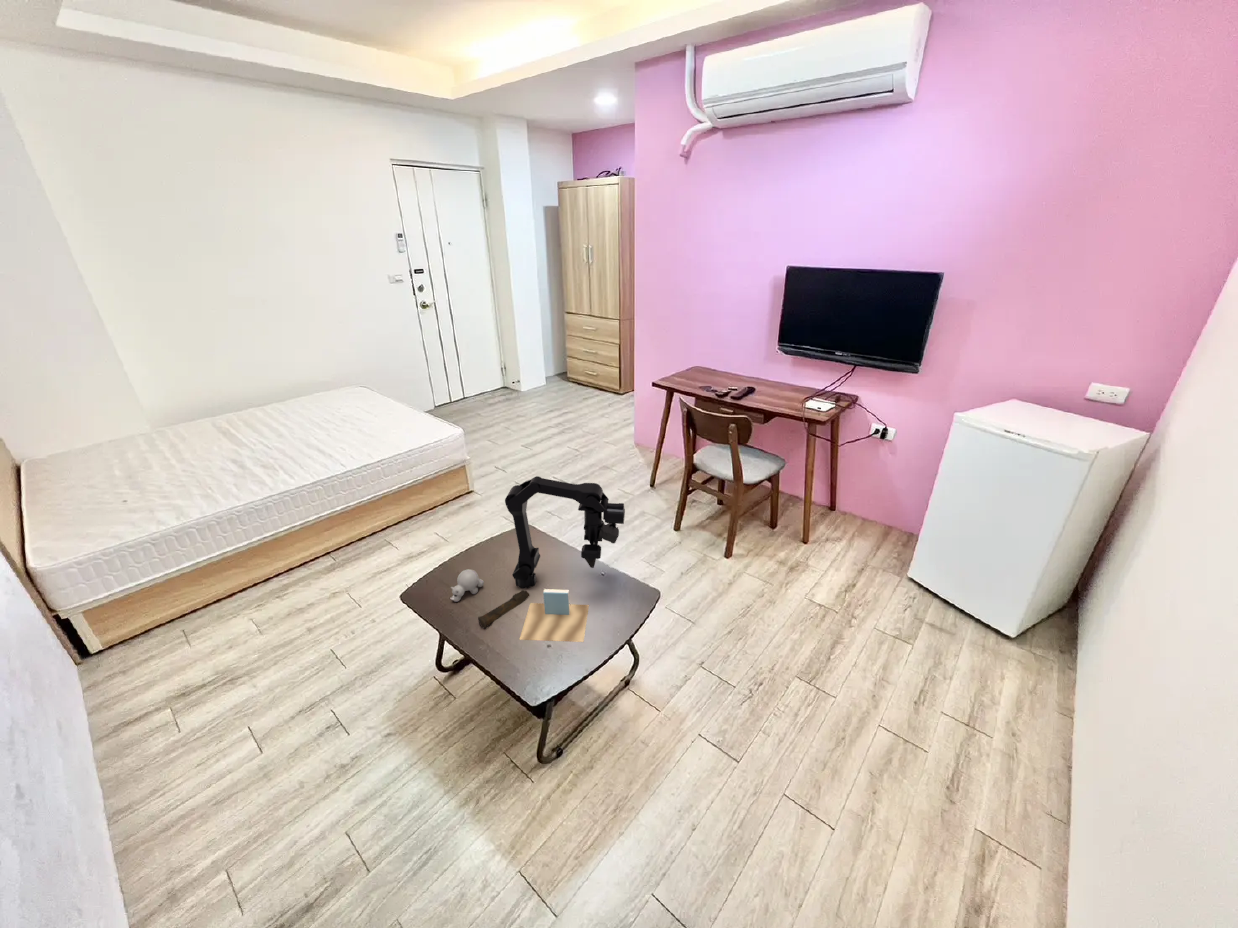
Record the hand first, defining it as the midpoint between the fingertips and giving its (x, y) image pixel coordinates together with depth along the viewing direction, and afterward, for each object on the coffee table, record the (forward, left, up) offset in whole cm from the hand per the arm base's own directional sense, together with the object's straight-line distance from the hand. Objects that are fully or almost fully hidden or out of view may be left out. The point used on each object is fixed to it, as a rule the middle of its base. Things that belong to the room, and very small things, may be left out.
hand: (593, 558), depth 162 cm
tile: (-11, -13, -12) cm, 21 cm away
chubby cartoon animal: (-45, -4, -14) cm, 47 cm away
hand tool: (-29, -12, -14) cm, 34 cm away
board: (-11, -17, -14) cm, 24 cm away
